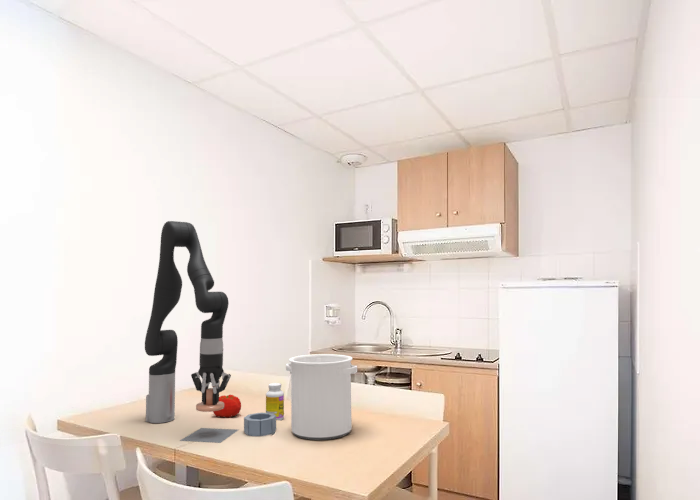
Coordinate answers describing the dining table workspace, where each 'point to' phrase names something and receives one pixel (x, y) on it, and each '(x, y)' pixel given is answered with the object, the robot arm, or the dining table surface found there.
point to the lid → (209, 403)
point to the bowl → (260, 424)
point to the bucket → (321, 395)
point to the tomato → (229, 406)
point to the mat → (210, 435)
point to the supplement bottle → (275, 401)
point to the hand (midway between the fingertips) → (210, 403)
